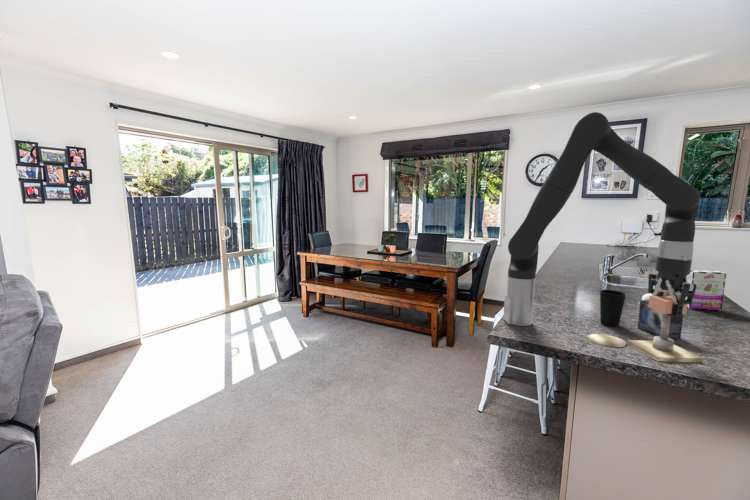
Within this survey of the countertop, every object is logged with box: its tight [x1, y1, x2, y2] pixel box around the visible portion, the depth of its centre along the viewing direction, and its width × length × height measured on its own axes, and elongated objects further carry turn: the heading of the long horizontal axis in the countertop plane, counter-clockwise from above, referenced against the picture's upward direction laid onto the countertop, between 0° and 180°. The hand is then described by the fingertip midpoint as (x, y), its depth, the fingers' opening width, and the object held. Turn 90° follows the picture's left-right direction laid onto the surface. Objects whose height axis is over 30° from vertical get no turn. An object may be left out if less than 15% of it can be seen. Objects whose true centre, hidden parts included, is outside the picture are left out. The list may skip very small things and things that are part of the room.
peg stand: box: [626, 315, 703, 363], centre depth 98 cm, size 12×12×11 cm
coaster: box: [588, 333, 627, 348], centre depth 108 cm, size 10×10×1 cm
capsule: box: [641, 293, 653, 300], centre depth 136 cm, size 5×5×8 cm
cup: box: [599, 289, 627, 328], centre depth 122 cm, size 8×8×12 cm
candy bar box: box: [685, 269, 727, 311], centre depth 141 cm, size 11×5×16 cm, turn 73°
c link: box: [648, 295, 688, 315], centre depth 97 cm, size 6×6×4 cm
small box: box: [637, 299, 684, 340], centre depth 114 cm, size 11×6×10 cm, turn 5°
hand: (666, 312), depth 98 cm, fingers closed on c link, 6 cm apart
